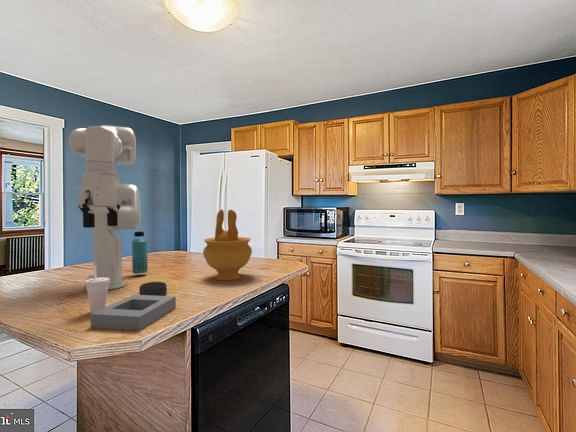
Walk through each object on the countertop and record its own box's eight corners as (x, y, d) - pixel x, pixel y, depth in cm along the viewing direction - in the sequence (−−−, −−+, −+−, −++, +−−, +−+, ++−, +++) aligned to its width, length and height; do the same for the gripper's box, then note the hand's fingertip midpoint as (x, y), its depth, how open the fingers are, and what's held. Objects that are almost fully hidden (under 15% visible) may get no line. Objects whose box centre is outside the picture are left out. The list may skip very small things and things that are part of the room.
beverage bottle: (137, 277, 139) (136, 232, 138) (128, 275, 142) (128, 231, 141) (150, 274, 144) (150, 231, 143) (142, 273, 148) (141, 230, 147)
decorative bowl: (258, 273, 147) (258, 209, 146) (241, 284, 126) (241, 209, 125) (216, 271, 151) (216, 209, 150) (194, 281, 131) (193, 209, 130)
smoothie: (92, 308, 97) (91, 263, 96) (114, 308, 97) (113, 263, 97) (80, 315, 90) (79, 267, 90) (103, 315, 91) (103, 267, 91)
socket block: (90, 327, 82) (90, 313, 82) (134, 305, 100) (134, 294, 100) (139, 330, 80) (139, 316, 80) (175, 307, 98) (175, 296, 98)
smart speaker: (164, 290, 118) (164, 280, 118) (168, 296, 110) (168, 285, 110) (138, 294, 113) (137, 283, 113) (141, 300, 106) (140, 288, 106)
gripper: (108, 173, 103) (109, 225, 103) (64, 165, 86) (66, 228, 86) (130, 172, 102) (131, 225, 102) (89, 164, 85) (91, 228, 85)
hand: (101, 226), depth 94 cm, fingers open, 9 cm apart
